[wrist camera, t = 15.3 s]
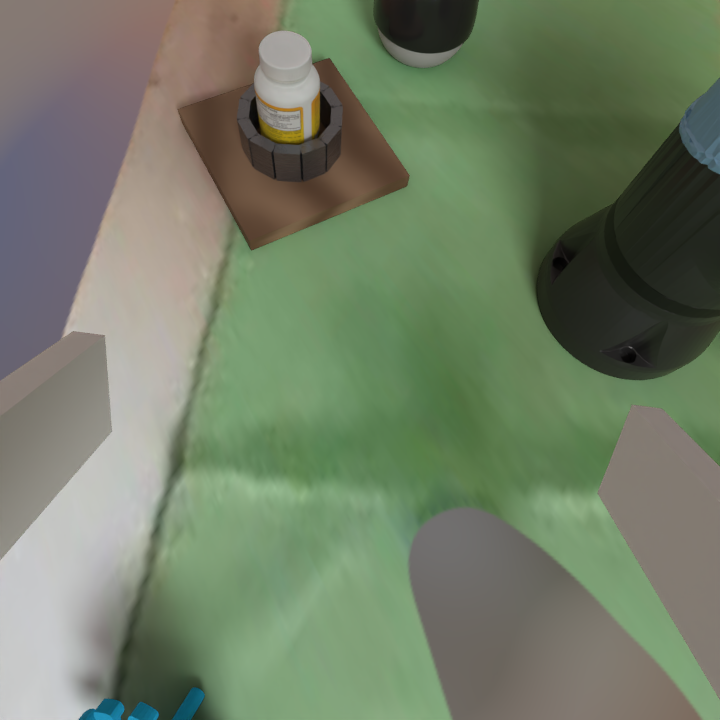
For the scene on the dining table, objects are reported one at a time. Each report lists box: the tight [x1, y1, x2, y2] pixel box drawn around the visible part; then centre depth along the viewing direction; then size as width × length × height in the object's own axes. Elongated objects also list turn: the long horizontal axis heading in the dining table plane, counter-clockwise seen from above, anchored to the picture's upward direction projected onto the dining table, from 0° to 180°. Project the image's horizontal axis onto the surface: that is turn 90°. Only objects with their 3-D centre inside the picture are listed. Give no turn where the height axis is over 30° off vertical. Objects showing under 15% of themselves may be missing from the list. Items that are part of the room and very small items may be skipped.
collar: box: [237, 81, 343, 182], centre depth 47 cm, size 9×9×4 cm
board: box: [178, 58, 410, 250], centre depth 50 cm, size 16×16×2 cm
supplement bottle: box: [254, 31, 320, 145], centre depth 45 cm, size 5×5×10 cm
